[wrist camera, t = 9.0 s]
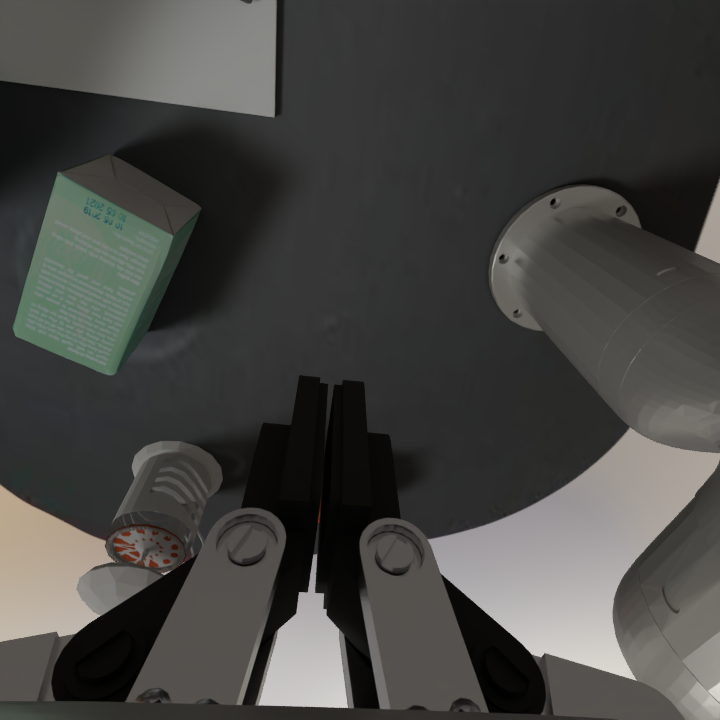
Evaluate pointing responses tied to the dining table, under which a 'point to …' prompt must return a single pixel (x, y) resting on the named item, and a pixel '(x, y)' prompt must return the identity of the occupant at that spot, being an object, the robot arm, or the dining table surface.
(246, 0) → the battery charger
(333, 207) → the dining table surface
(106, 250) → the box
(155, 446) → the french press
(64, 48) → the mat
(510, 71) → the dining table surface
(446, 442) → the dining table surface
